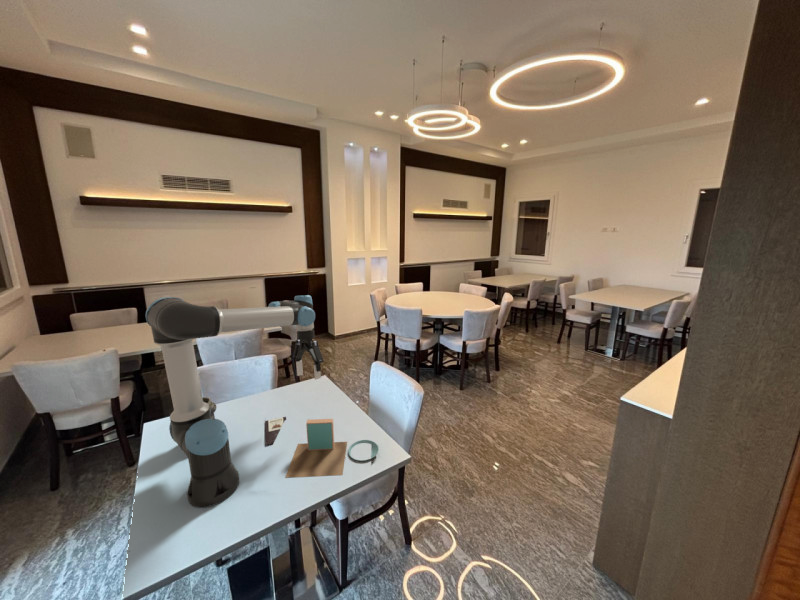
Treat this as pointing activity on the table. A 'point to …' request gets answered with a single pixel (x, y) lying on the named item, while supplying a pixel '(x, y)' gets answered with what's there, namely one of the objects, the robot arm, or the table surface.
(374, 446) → the saucer
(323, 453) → the board
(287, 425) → the table surface
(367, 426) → the table surface
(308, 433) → the tile
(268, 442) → the chocolate bar
